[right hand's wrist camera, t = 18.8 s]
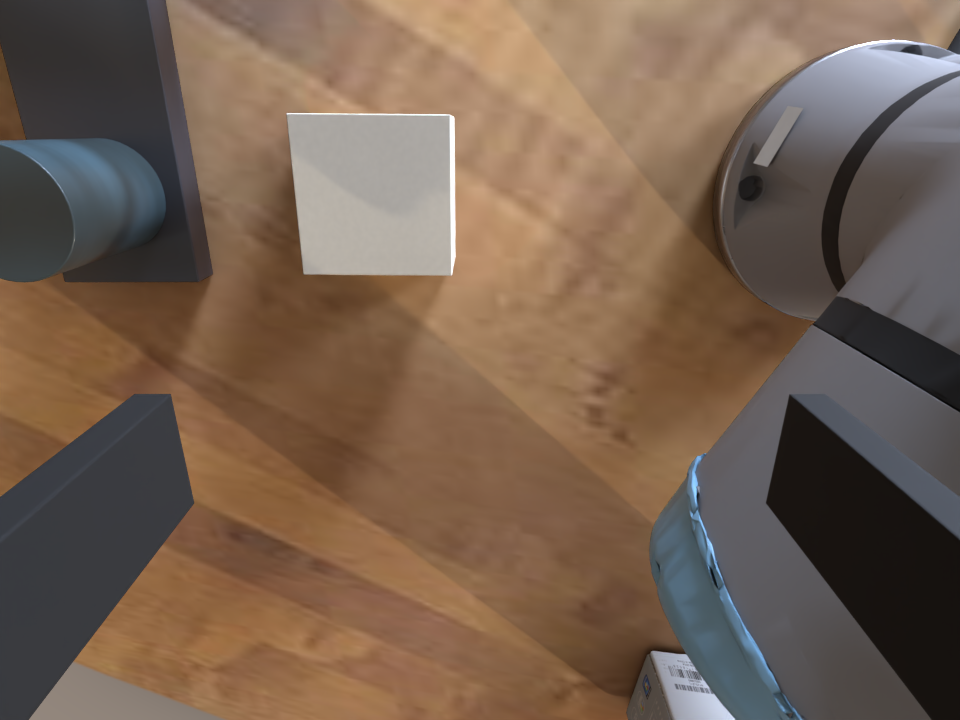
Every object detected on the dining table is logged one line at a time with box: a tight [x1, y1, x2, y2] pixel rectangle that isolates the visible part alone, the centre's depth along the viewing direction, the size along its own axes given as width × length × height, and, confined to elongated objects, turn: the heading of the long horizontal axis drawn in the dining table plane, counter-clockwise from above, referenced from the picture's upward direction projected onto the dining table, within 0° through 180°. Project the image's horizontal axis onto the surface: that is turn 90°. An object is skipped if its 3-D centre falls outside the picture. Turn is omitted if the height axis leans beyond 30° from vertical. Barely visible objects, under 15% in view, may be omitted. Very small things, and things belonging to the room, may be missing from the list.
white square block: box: [286, 113, 455, 276], centre depth 32 cm, size 8×8×5 cm
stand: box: [0, 0, 213, 282], centre depth 27 cm, size 26×8×10 cm, turn 0°
